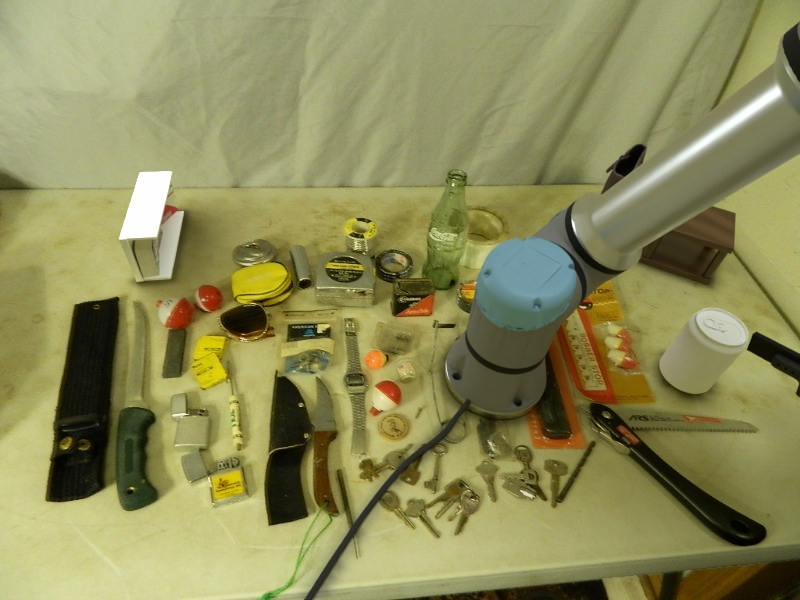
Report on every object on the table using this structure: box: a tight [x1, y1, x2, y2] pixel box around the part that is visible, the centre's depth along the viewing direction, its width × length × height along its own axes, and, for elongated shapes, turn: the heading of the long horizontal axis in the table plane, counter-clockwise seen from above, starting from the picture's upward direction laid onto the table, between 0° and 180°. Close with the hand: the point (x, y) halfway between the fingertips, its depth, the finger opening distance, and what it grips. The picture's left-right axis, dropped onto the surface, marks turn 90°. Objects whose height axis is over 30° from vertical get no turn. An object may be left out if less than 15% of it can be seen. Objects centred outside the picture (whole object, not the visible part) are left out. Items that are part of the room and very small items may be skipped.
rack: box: [638, 205, 737, 286], centre depth 101 cm, size 12×13×9 cm
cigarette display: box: [118, 171, 185, 283], centre depth 93 cm, size 20×6×9 cm, turn 9°
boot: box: [600, 143, 648, 194], centre depth 101 cm, size 9×24×20 cm, turn 143°
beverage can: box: [658, 307, 750, 395], centre depth 80 cm, size 8×8×12 cm
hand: (782, 318), depth 69 cm, fingers open, 13 cm apart
